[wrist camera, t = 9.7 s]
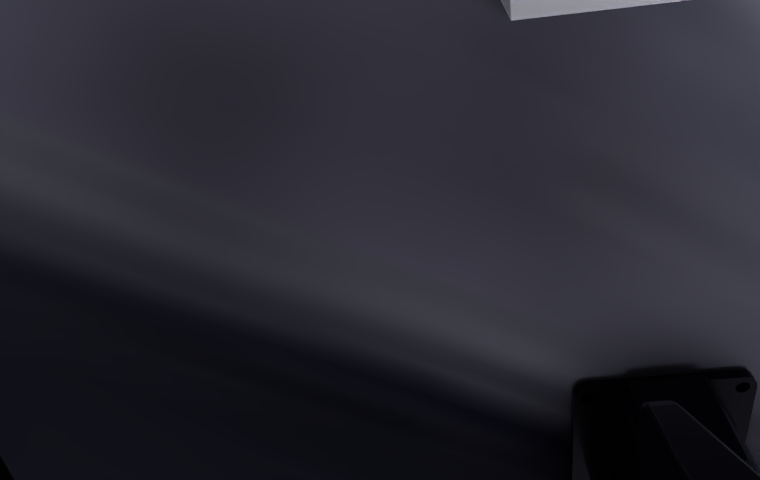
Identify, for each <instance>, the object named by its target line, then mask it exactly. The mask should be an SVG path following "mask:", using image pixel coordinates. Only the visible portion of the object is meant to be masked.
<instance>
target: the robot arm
mask: <svg viewBox="0 0 760 480" xmlns="http://www.w3.org/2000/svg"><path fill="white" fill-rule="evenodd" d="M742 382H743V383H742ZM739 383H742V384H739ZM738 384H739V385H738ZM756 389H757V382H756V380H755V379H754V377H753V375H752V374H751V373H750V372H749V371H747V370H728V371H715V372H702V373H689V374H676V375H663V376H650V377H637V378H624V379H611V380H598V381H586V382H581V383H579V384H577V385H576V386H575V387H574V388H573V392H572V420H571V453H570V480H760V470H759V468H758V466H757V465H756V463H755V461H754V459H753V457H752V455H751V453H750V451H749V450H748V448H747V446H746V444H745V440H746V435H747V431H748V426H749V421H750V417H751V412H752V408H753V403H754V398H755V394H756ZM586 394H590V395H589V396H584V395H586ZM0 480H14V479H13V477H12V475H11V474H10V472H9V470H8V468H7V467H6V465H5V463H4V461H3V460H2V458H1V456H0Z"/></svg>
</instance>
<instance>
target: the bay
mask: <svg viewBox="0 0 760 480" xmlns="http://www.w3.org/2000/svg"><path fill="white" fill-rule="evenodd" d="M678 1H687V0H501V2H502V4H503V6H504V8H505V10H506V12H507V14H508V16H509V18H510V20H511V21H513V20H522V19H530V18H539V17H548V16H556V15H565V14H574V13H582V12H591V11H600V10H609V9H617V8H626V7H635V6H643V5H652V4H661V3H669V2H678Z"/></svg>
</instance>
